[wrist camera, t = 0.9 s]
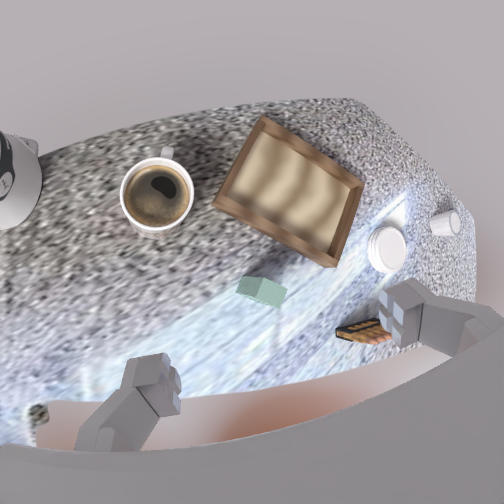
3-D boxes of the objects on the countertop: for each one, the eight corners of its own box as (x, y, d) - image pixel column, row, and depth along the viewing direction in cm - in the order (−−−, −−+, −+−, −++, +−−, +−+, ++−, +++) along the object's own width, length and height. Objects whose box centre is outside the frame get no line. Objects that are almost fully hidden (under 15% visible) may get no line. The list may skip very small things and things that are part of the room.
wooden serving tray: (210, 205, 49) (215, 199, 46) (254, 124, 53) (262, 114, 49) (324, 267, 56) (336, 267, 52) (353, 188, 60) (364, 183, 56)
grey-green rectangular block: (235, 292, 50) (255, 297, 41) (242, 276, 51) (264, 277, 41) (255, 301, 51) (279, 308, 42) (262, 285, 52) (287, 289, 42)
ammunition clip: (374, 317, 60) (414, 324, 48) (374, 325, 60) (414, 333, 48) (335, 328, 56) (374, 339, 45) (335, 337, 56) (374, 349, 45)
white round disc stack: (386, 220, 63) (396, 218, 59) (402, 258, 64) (412, 257, 60) (359, 241, 59) (370, 240, 56) (377, 281, 61) (388, 281, 57)
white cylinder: (440, 242, 69) (460, 240, 63) (427, 231, 67) (447, 228, 61) (443, 220, 71) (462, 217, 64) (430, 208, 69) (450, 204, 62)
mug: (112, 204, 44) (101, 186, 34) (166, 158, 47) (171, 129, 37) (153, 251, 46) (153, 246, 35) (206, 202, 49) (221, 185, 39)
